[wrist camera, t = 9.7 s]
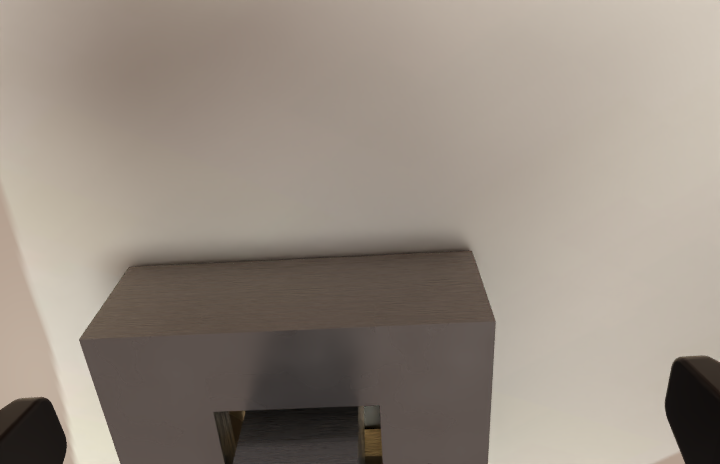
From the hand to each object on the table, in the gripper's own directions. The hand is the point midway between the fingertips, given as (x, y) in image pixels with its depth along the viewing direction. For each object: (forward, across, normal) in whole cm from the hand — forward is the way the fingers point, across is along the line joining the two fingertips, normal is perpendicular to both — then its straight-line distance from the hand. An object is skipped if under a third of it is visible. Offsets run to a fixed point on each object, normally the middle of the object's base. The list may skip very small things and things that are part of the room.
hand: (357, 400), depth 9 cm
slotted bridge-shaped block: (+13, +3, +11) cm, 17 cm away
